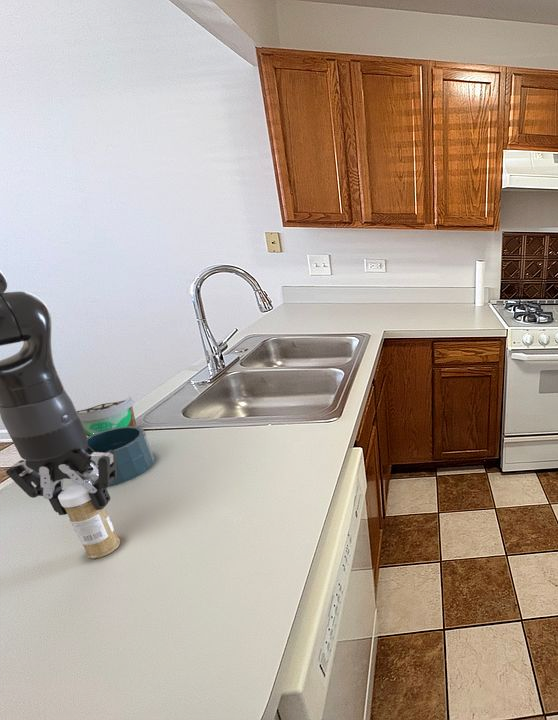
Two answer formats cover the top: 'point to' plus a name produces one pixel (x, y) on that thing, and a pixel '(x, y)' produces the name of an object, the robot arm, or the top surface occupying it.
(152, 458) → the pot
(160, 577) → the top surface
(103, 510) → the sprinkles bottle
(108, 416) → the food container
